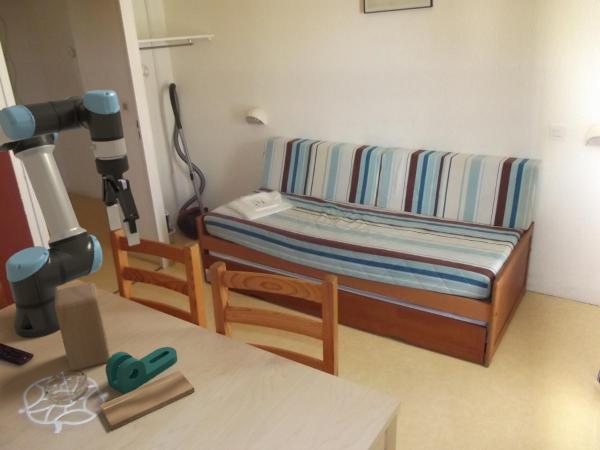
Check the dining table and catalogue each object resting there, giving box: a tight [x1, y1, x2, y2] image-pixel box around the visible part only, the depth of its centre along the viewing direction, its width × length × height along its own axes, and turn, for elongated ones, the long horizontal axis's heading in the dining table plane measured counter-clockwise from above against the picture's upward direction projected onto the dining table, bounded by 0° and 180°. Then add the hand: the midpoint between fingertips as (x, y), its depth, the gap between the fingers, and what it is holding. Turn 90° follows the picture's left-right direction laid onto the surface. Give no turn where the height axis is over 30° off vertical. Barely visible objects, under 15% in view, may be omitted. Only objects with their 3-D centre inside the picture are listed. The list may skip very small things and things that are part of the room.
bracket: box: [105, 346, 178, 396], centre depth 132 cm, size 18×7×8 cm, turn 142°
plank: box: [99, 370, 195, 431], centre depth 123 cm, size 8×20×1 cm, turn 127°
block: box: [55, 282, 111, 372], centre depth 136 cm, size 10×10×20 cm
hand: (124, 236), depth 133 cm, fingers open, 13 cm apart
